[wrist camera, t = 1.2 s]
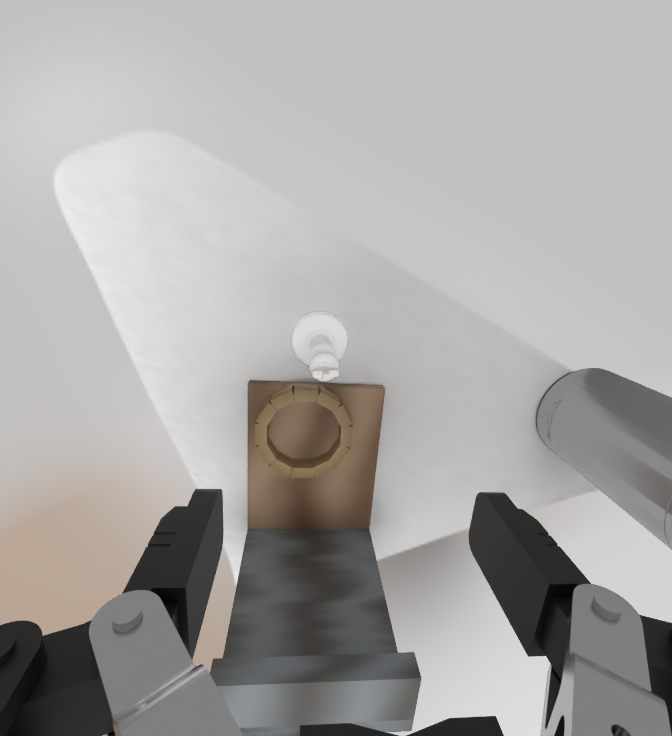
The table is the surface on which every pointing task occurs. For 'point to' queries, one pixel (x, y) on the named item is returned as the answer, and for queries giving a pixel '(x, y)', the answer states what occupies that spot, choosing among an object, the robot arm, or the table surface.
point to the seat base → (313, 571)
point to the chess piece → (320, 343)
